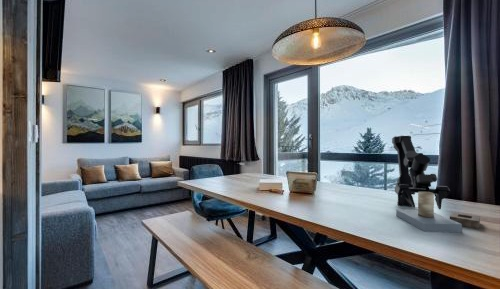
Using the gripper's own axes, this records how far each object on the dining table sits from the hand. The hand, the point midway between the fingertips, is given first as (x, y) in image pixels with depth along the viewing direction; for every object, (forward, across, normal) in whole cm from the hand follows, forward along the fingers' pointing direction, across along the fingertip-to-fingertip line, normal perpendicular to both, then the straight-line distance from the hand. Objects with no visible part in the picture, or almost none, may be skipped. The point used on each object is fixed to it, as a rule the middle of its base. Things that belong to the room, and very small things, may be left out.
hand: (427, 208), depth 103 cm
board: (+4, 0, +6) cm, 7 cm away
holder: (+1, +15, +9) cm, 18 cm away
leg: (+4, 0, +6) cm, 7 cm away
